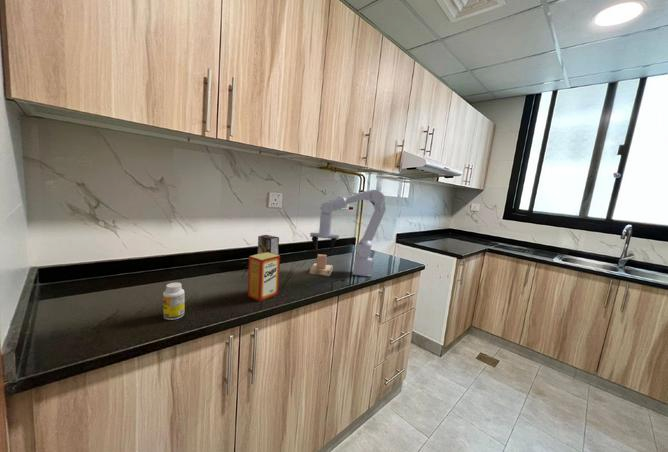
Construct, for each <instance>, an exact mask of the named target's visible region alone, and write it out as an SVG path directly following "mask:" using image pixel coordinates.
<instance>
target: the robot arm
mask: <svg viewBox="0 0 668 452" xmlns="http://www.w3.org/2000/svg"><path fill="white" fill-rule="evenodd" d="M362 200H365V201H368V202H370V203H371V204H372V206H373V209H374V210H373V213H372V216H371V218H370V219H369V222H368V224H367V227H366V229H365V231H364V234H363V236H362V238H361V239H360V240H359V242H358V243H356V245H355V252H356V254H355V256H354V266H353V270H352V275H353V276H354V275H355V276H363V277H372V272H373V257H370V255H371V249H372V245H373V243H372V242H373V239H374V238H375V236H376V233H377V231H378V228H379V226H380V223H381V221H382V219H383V217H384V215H385V213H386V210H387V209H386V197H385V195H384V193H383V191H382V190H380V189H370V190H366V191H361V192H359V193H356V194H353V195H351V196H348V197H344V196H340V195H339V196H337V198H334V199H328V201H324V202H322V203H321V206H320V210H321V212H320V216H319V230H318V231H319V232H310V234H309V237H311V241H312V244H313V246H314V252H317V251H318V243H319V242H318V241H319V238H322V239H330V249H329V254H332V253H333V248H334V246H335V244H336V242H337V240H339V239H340V235H338V234H332V233H331V230H332V213H333V212H336V211H339V210H342V209H345V208H347V206H348V205H349V204H352V203H355V202H358V201H362Z"/></svg>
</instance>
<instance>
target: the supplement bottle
mask: <svg viewBox="0 0 668 452" xmlns="http://www.w3.org/2000/svg"><path fill="white" fill-rule="evenodd" d="M182 287H183V286H182V283H181V282H171V283H168V284H166V285H165V291H163V292H162V298H163V299H162V303H163V305H162V307H163V309H162V311H163V318H164V319H165V320H168V321H174V320H178V319H180V318H182V317H183V316H185V311H186V310H185V307H186V306H185V300H186V299H185V297H186V296H185V290H184V289H183V288H182Z"/></svg>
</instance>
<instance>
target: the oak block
mask: <svg viewBox="0 0 668 452" xmlns="http://www.w3.org/2000/svg"><path fill="white" fill-rule="evenodd" d="M316 266H317V262H316V263H315V262H314V263H313V264H312V265H311V267H310V268H309V274H311V275H318V276H326V277H329V276H331V274H332V272H333V269H334V265H332V264H326V267H325V269H323V268H316Z"/></svg>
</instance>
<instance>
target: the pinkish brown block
mask: <svg viewBox="0 0 668 452" xmlns="http://www.w3.org/2000/svg"><path fill="white" fill-rule="evenodd" d="M327 256H328V255H327V254H319V253H317V257H316V263H317V266H316V268H323V269H325V267H326V265H327V258H328V257H327Z"/></svg>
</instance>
